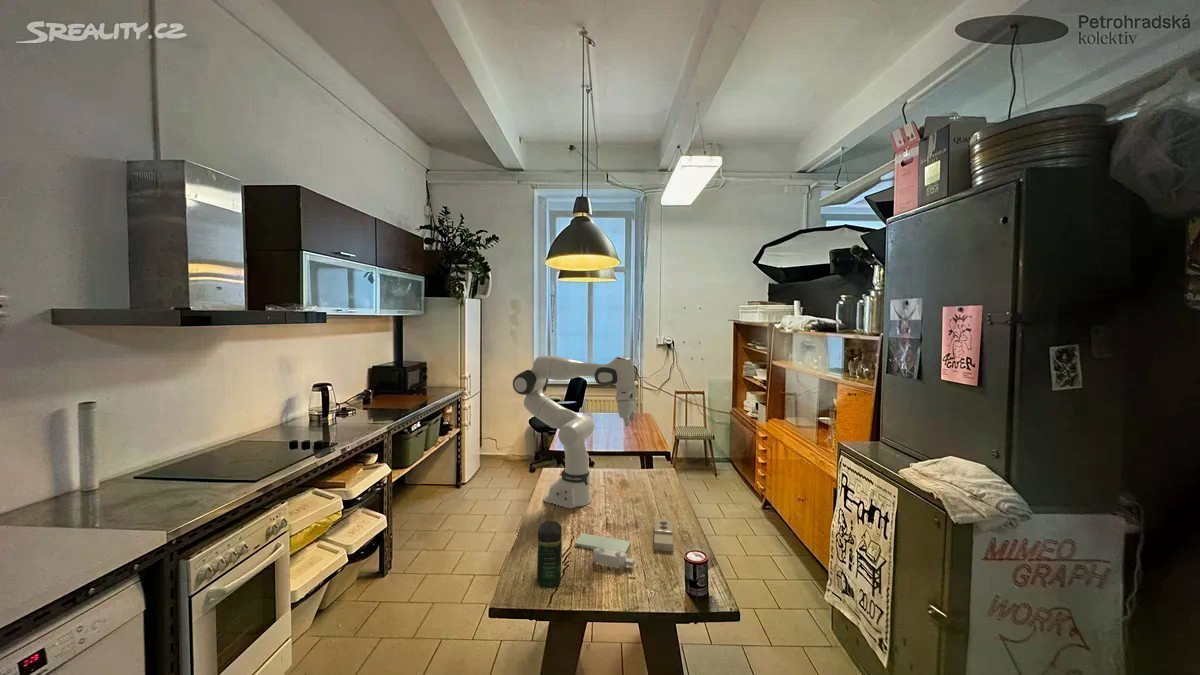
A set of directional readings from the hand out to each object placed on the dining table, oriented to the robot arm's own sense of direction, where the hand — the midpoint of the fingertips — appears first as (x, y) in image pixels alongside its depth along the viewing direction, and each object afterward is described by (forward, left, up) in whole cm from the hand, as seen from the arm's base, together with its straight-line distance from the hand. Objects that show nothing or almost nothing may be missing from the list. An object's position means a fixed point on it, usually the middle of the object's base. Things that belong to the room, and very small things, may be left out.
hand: (629, 423), depth 199 cm
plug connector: (+6, -44, -40) cm, 60 cm away
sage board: (-1, -33, -40) cm, 52 cm away
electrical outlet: (+20, -21, -40) cm, 49 cm away
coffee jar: (-11, -60, -40) cm, 73 cm away
